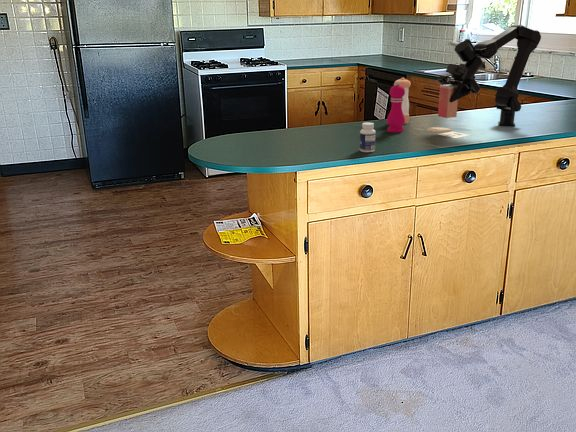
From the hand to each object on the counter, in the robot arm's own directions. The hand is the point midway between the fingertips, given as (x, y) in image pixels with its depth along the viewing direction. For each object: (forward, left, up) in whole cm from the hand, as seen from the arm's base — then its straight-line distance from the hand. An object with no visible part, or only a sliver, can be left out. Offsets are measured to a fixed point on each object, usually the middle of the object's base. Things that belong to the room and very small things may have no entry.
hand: (445, 100), depth 229 cm
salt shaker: (-20, -19, -13) cm, 31 cm away
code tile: (+3, +4, -13) cm, 14 cm away
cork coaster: (-5, -2, -13) cm, 14 cm away
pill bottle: (+36, -25, -13) cm, 45 cm away
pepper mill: (0, -19, -13) cm, 23 cm away
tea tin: (-1, +1, -6) cm, 6 cm away
